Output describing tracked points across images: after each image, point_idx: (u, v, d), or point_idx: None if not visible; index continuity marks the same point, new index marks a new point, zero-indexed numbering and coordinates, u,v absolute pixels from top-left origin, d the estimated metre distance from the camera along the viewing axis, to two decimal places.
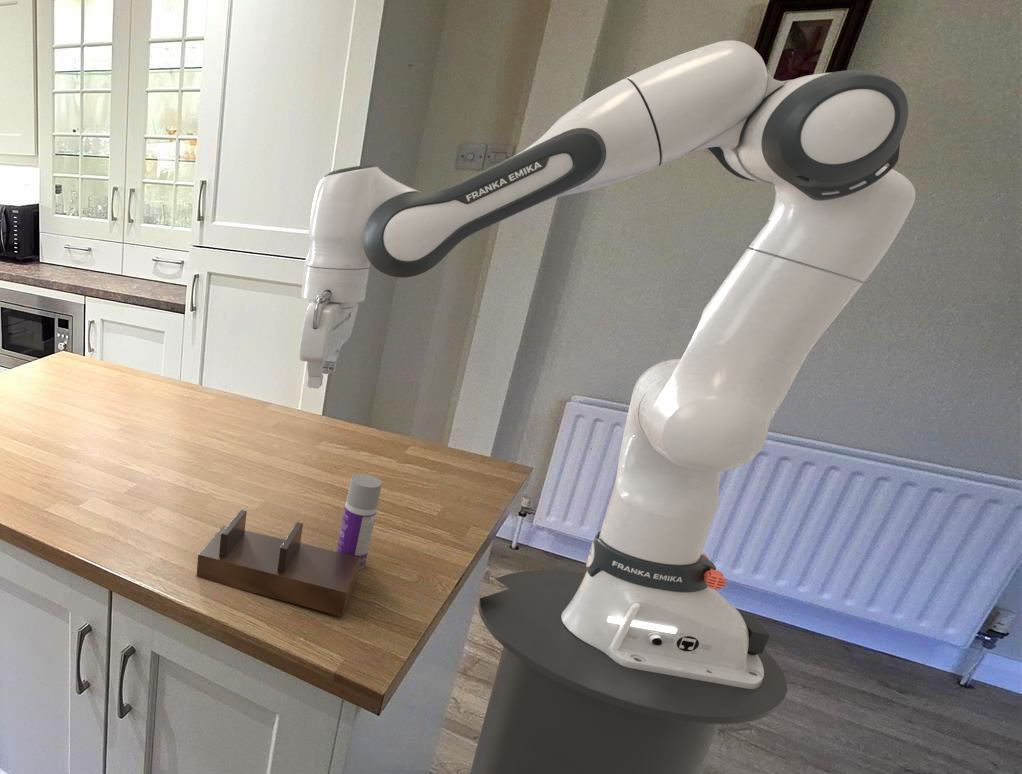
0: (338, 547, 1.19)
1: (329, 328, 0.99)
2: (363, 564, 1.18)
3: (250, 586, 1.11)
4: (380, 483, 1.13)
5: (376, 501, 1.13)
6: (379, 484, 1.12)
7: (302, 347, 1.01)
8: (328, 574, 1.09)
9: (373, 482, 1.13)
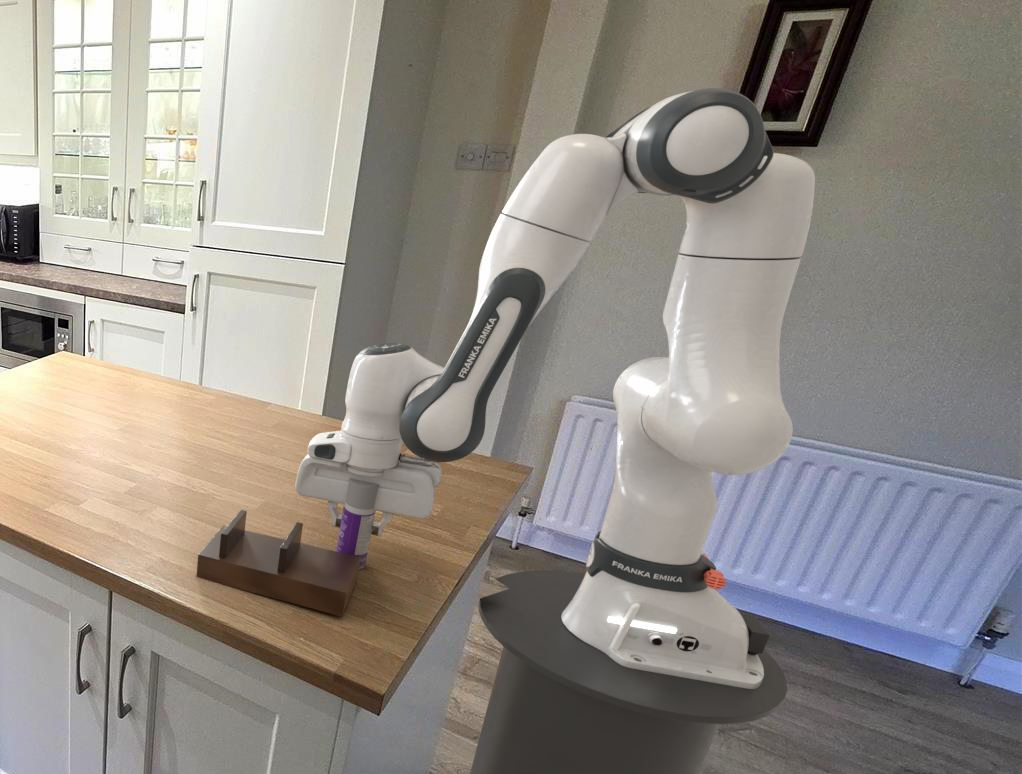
0: (338, 547, 1.19)
1: None
2: (363, 564, 1.18)
3: (250, 586, 1.11)
4: None
5: None
6: None
7: (431, 507, 1.10)
8: (328, 574, 1.09)
9: None
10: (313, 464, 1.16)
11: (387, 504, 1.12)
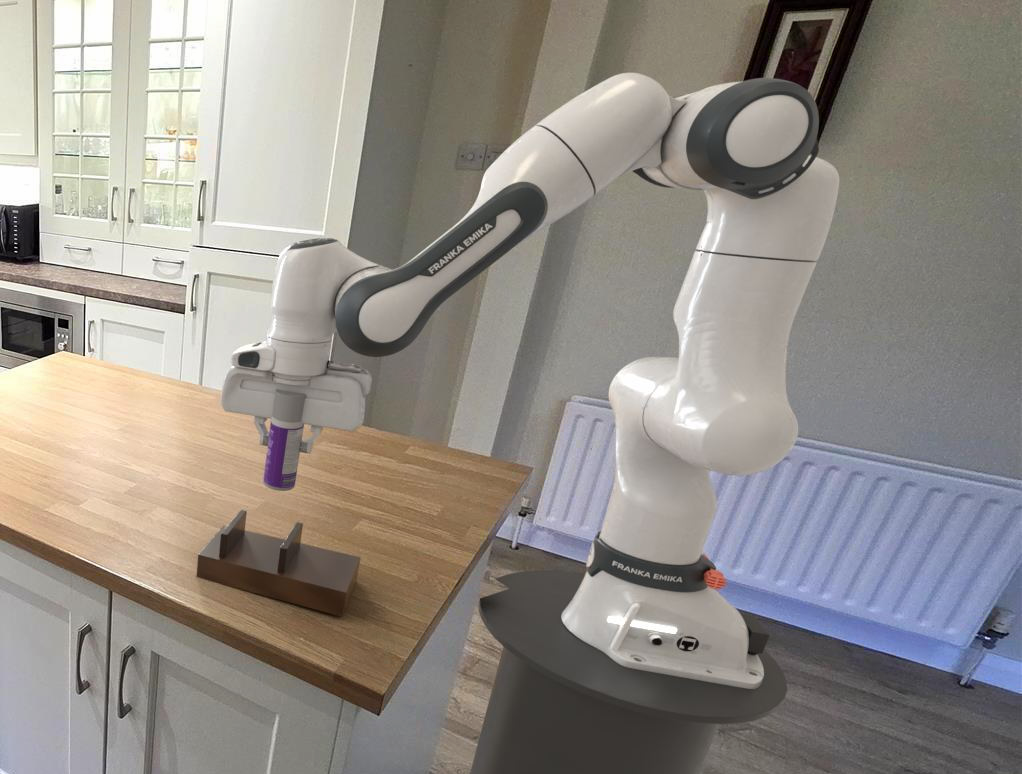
0: (265, 467, 1.11)
1: None
2: (292, 485, 1.10)
3: (250, 586, 1.11)
4: None
5: None
6: (304, 394, 1.04)
7: (361, 418, 1.02)
8: (328, 574, 1.09)
9: None
10: (238, 375, 1.07)
11: (315, 416, 1.04)
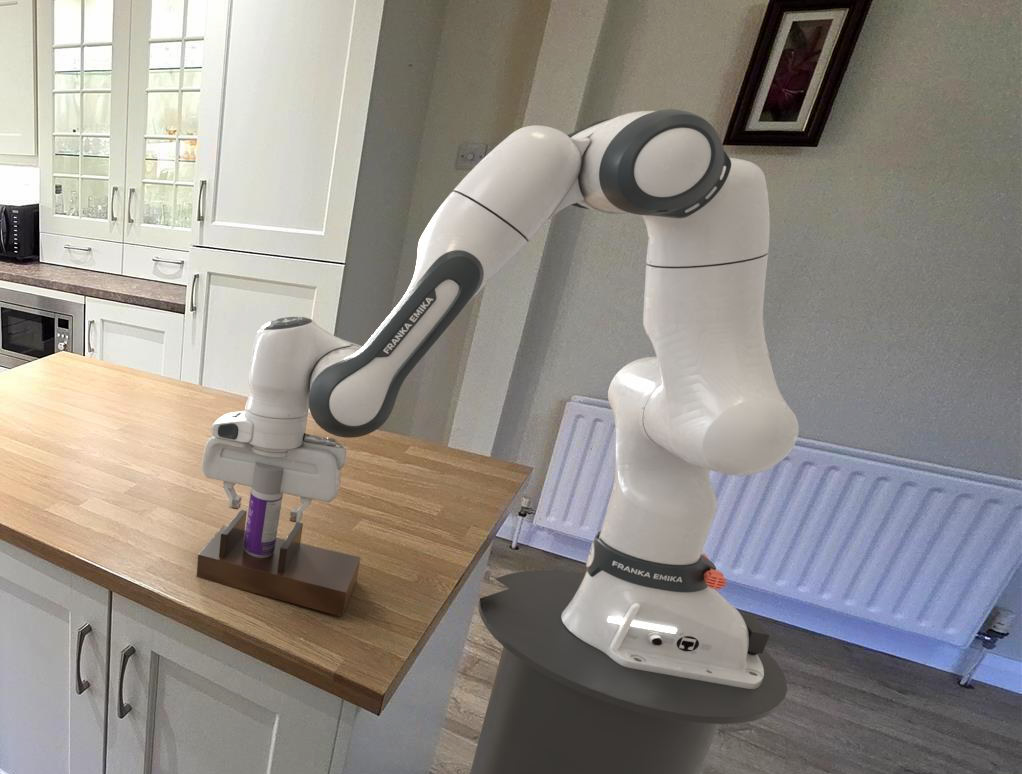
0: (246, 534, 1.14)
1: None
2: (272, 552, 1.14)
3: (250, 586, 1.11)
4: None
5: (280, 485, 1.08)
6: None
7: (336, 490, 1.05)
8: (328, 574, 1.09)
9: None
10: (218, 444, 1.11)
11: (292, 486, 1.07)
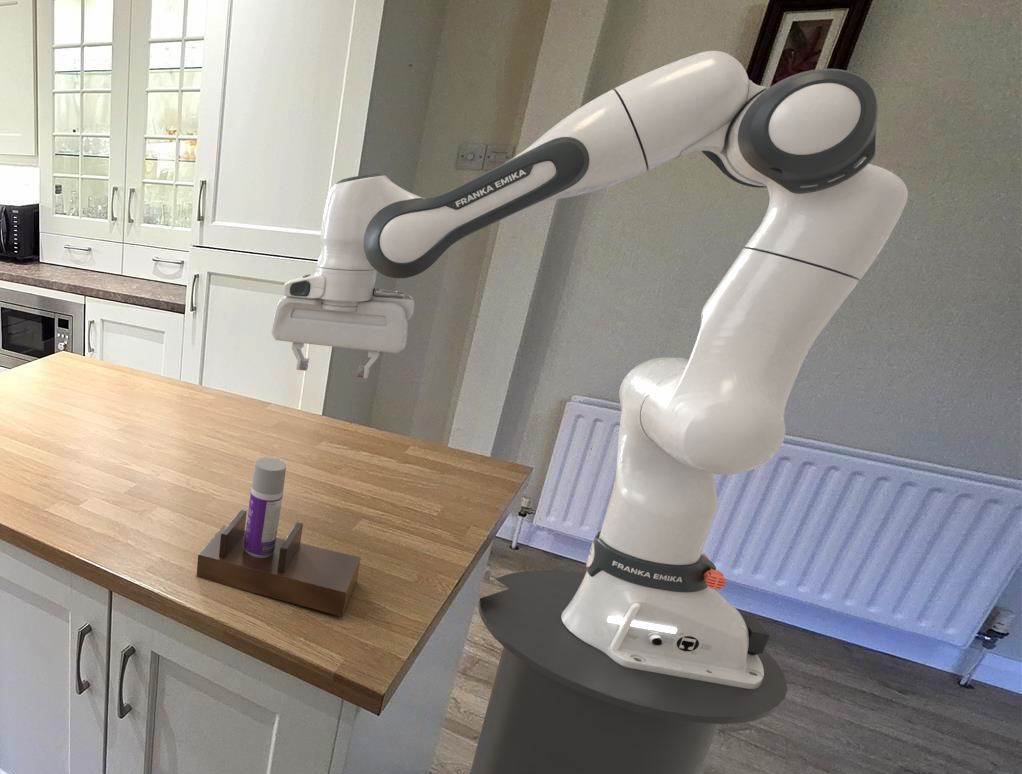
0: (246, 534, 1.14)
1: None
2: (272, 552, 1.14)
3: (250, 586, 1.11)
4: (284, 466, 1.08)
5: (280, 485, 1.08)
6: (283, 467, 1.08)
7: (404, 340, 1.11)
8: (328, 574, 1.09)
9: (277, 465, 1.08)
10: (289, 305, 1.17)
11: (361, 340, 1.13)
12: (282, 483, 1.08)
